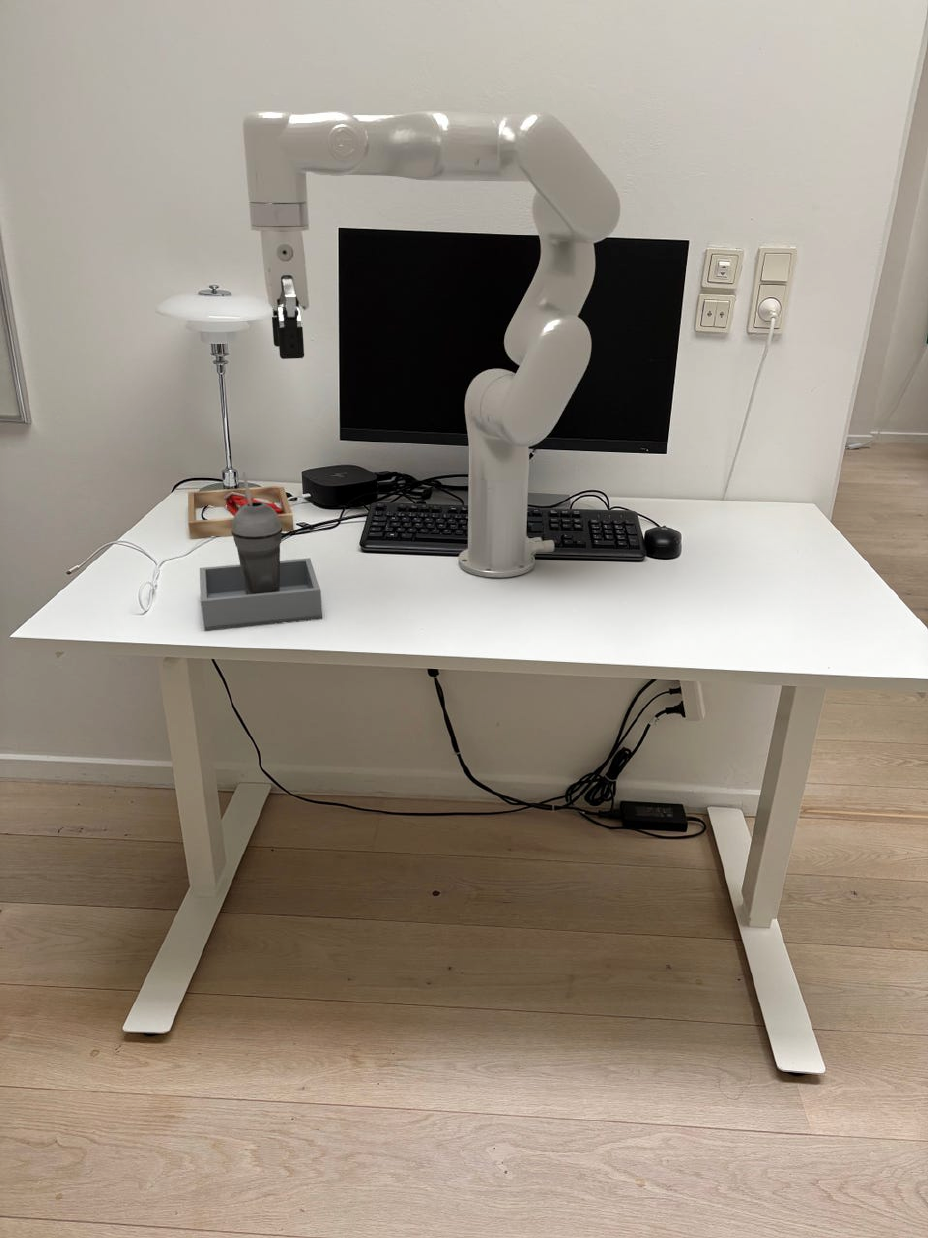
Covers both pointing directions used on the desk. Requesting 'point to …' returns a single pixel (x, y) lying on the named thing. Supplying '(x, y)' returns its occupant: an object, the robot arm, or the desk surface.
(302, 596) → the charcoal tray
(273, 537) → the beverage cup
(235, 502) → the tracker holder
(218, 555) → the desk surface
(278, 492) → the oak organiser frame
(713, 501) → the desk surface
